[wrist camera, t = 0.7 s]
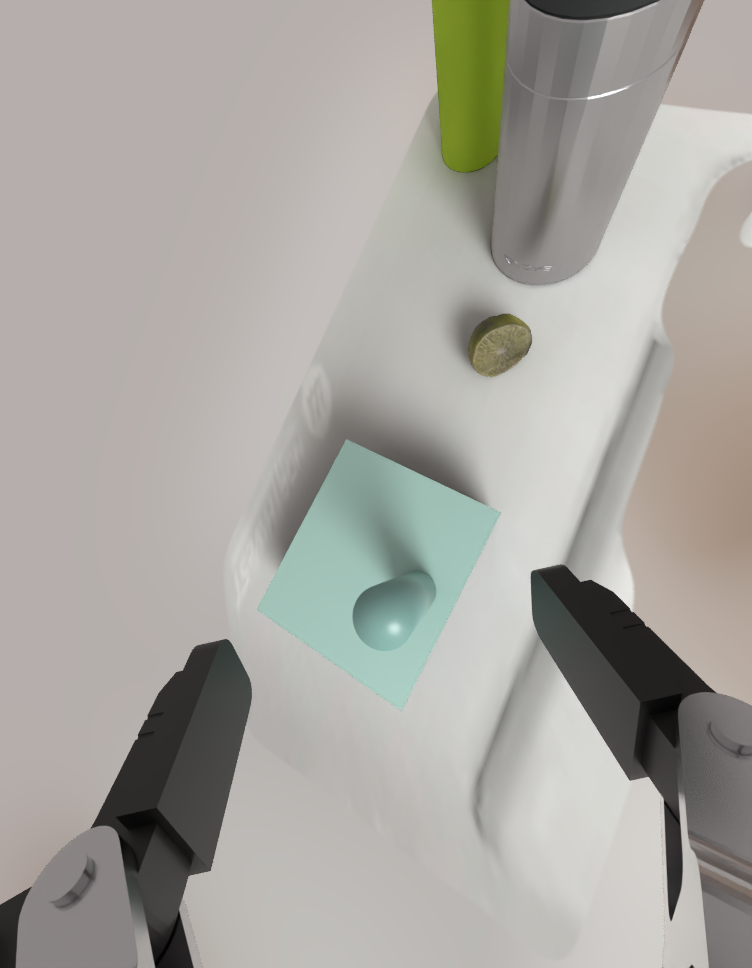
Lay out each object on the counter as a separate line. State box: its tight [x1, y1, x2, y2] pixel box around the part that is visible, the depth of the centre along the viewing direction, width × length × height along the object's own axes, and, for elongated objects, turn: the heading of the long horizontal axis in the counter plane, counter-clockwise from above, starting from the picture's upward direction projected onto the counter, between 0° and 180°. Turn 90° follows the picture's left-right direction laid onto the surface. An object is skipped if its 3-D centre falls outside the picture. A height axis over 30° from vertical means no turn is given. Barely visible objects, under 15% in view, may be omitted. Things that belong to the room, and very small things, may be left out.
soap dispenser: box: [432, 0, 509, 172], centre depth 27 cm, size 6×7×20 cm
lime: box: [468, 314, 532, 377], centre depth 30 cm, size 4×5×5 cm
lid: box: [257, 439, 501, 711], centre depth 21 cm, size 14×12×12 cm
